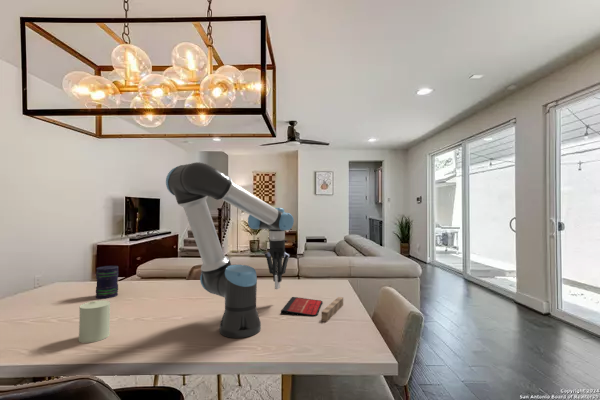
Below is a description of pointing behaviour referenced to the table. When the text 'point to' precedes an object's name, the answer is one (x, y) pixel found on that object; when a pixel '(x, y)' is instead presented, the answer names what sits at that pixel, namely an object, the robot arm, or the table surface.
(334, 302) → the rail
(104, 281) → the storage jar
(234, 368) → the table surface
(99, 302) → the can
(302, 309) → the binder
